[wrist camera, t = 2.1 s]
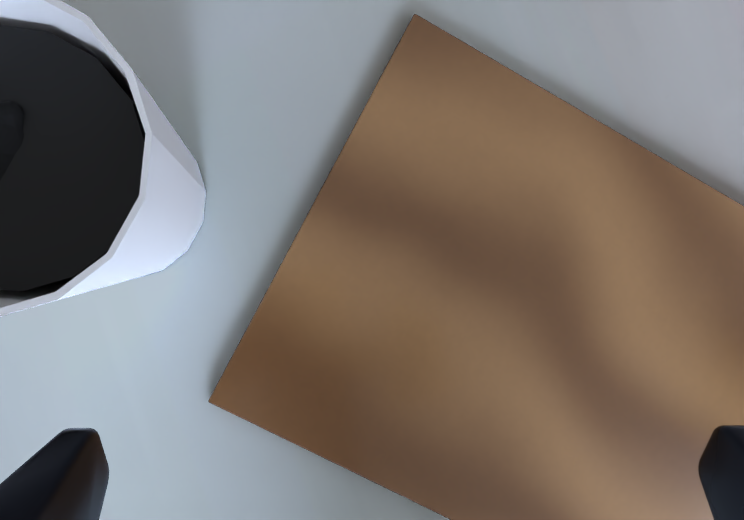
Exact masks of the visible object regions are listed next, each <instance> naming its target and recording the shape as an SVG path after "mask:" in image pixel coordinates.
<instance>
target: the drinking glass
mask: <svg viewBox="0 0 744 520" xmlns="http://www.w3.org/2000/svg"><path fill="white" fill-rule="evenodd" d="M205 200H206V189H205V186H204V183H203V179H202V176H201V173H200V169H199V166H198V163H197V161H196V160H195V158H194V157H193V155H192V154H191V153H190V151H189V150H188V148H187V147H186V145H185V144H184V143H183V141H182V140H181V138H180V137H179V135H178V134H177V133H176V131H175V130H174V128H173V127H172V125H171V124H170V123H169V121H168V120H167V118H166V117H165V115H164V114H163V113H162V111H161V110H160V108H159V107H158V105H157V104H156V102H155V101H154V100H153V98H152V97H151V95H150V94H149V92H148V91H147V90H146V88H145V87H144V85H143V84H142V82H141V81H140V80H139V78H138V77H137V75H136V74H135V72H134V71H133V70H132V68H131V67H130V66H129V65H128V63H127V62H126V61H125V60H124V59H123V57H122V56H121V55H120V54H119V53H118V51H117V50H116V49H115V48H114V46H113V45H112V44H111V43H110V42H109V40H108V39H107V38H106V37H105V35H104V34H103V33H102V32H101V31H100V29H99V28H98V27H97V26H96V25H95V23H94V22H93V21H92V20H91V18H90V17H89V16H88V15H86V14H84V13H82V12H80V11H79V10H77V9H75V8H73V7H72V6H70V5H68V4H66V3H64V2H63V1H61V0H0V317H1V316H4V315H8V314H11V313H15V312H18V311H22V310H25V309H29V308H32V307H36V306H39V305H43V304H46V303H50V302H53V301H57V300H60V299H64V298H67V297H71V296H74V295H78V294H81V293H85V292H88V291H92V290H95V289H99V288H103V287H106V286H110V285H113V284H117V283H120V282H124V281H127V280H131V279H135V278H138V277H142V276H145V275H149V274H152V273H155V272H159V271H162V270H164V269H165V268H166V267H168V266H169V265H170V264H171V263H173V262H174V261H175V260H176V259H178V258H179V257H180V256H182V255H183V254H184V253H185V252H187V251H188V249H189V247H190V246H191V244H192V242H193V240H194V238H195V237H196V235H197V233H198V231H199V229H200V228H201V226H202V224H203V219H204V210H205Z"/></svg>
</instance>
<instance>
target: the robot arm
mask: <svg viewBox="0 0 744 520" xmlns="http://www.w3.org/2000/svg"><path fill="white" fill-rule="evenodd" d="M698 473H699V478H700V481H701V484H702V487H703V490H704V493H705V495H706V498H707V501H708V504H709V507H710V510H711V513H712V516H713V518H714V520H744V425H721V426H718V427H717V428H715V429H714V431H713V432H712V435H711V437H710V439H709V441H708V443H707V445H706V447H705V449H704V451H703V453H702V455H701V458H700V460H699V464H698ZM108 479H109V467H108V463H107V460H106V456H105V453H104V450H103V447H102V443H101V440H100V437H99V434H98V432H97V431H96V430H94V429H91V428H70V429H65V430H63V431H62V432H60V433H59V434H58V435H57V436H55V437H54V438H53V439H52V440H51V441H50V442H48V443H47V444H46V445H45V446H44V447H43V448H41V449H40V450H39V451H38V452H37V453H36V454H35V455H33V456H32V457H31V458H30V459H29V460H28V461H26V462H25V463H24V464H23V465H22V466H21V467H19V468H18V469H17V470H16V471H15V472H14V473H13V474H11V475H10V476H9V477H8V478H7V479H6V480H4V481H3V482H2V483H1V484H0V520H99V517H100V513H101V509H102V505H103V501H104V497H105V493H106V489H107V485H108Z"/></svg>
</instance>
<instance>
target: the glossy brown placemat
mask: <svg viewBox="0 0 744 520" xmlns="http://www.w3.org/2000/svg"><path fill="white" fill-rule="evenodd" d="M208 402H210V403H212V404H214V405H216V406H218V407H220V408H222V409H224V410H226V411H228V412H230V413H232V414H234V415H236V416H238V417H240V418H243V419H245V420H247V421H249V422H251V423H253V424H255V425H257V426H259V427H261V428H263V429H265V430H267V431H269V432H271V433H273V434H275V435H278V436H280V437H282V438H284V439H286V440H288V441H290V442H292V443H294V444H296V445H298V446H300V447H302V448H304V449H306V450H308V451H311V452H313V453H315V454H317V455H319V456H321V457H323V458H325V459H327V460H329V461H331V462H333V463H335V464H337V465H339V466H341V467H343V468H346V469H348V470H350V471H352V472H354V473H356V474H358V475H360V476H362V477H364V478H366V479H368V480H370V481H372V482H374V483H376V484H379V485H381V486H383V487H385V488H387V489H389V490H391V491H393V492H395V493H397V494H399V495H401V496H403V497H405V498H407V499H409V500H411V501H414V502H416V503H418V504H420V505H422V506H424V507H426V508H428V509H430V510H432V511H434V512H436V513H438V514H440V515H442V516H444V517H447V518H449V519H451V520H714V518H713V516H712V513H711V510H710V507H709V504H708V501H707V498H706V495H705V493H704V490H703V487H702V484H701V481H700V478H699V473H698V464H699V460H700V458H701V455H702V453H703V451H704V449H705V447H706V445H707V443H708V441H709V439H710V437H711V435H712V432H713V431H714V429H715V428H717V427H718V426H721V425H744V206H743V205H741V204H739V203H737V202H736V201H734V200H732V199H731V198H729V197H727V196H726V195H724V194H722V193H720V192H719V191H717V190H715V189H714V188H712V187H710V186H708V185H707V184H705V183H703V182H702V181H700V180H698V179H697V178H695V177H693V176H691V175H690V174H688V173H686V172H685V171H683V170H681V169H679V168H678V167H676V166H674V165H673V164H671V163H669V162H667V161H666V160H664V159H662V158H661V157H659V156H657V155H656V154H654V153H652V152H650V151H649V150H647V149H645V148H644V147H642V146H640V145H638V144H637V143H635V142H633V141H632V140H630V139H628V138H626V137H625V136H623V135H621V134H620V133H618V132H616V131H615V130H613V129H611V128H609V127H608V126H606V125H604V124H603V123H601V122H599V121H597V120H596V119H594V118H592V117H591V116H589V115H587V114H585V113H584V112H582V111H580V110H579V109H577V108H575V107H574V106H572V105H570V104H568V103H567V102H565V101H563V100H562V99H560V98H558V97H556V96H555V95H553V94H551V93H550V92H548V91H546V90H544V89H543V88H541V87H539V86H538V85H536V84H534V83H533V82H531V81H529V80H527V79H526V78H524V77H522V76H521V75H519V74H517V73H515V72H514V71H512V70H510V69H509V68H507V67H505V66H504V65H502V64H500V63H498V62H497V61H495V60H493V59H492V58H490V57H488V56H486V55H485V54H483V53H481V52H480V51H478V50H476V49H474V48H473V47H471V46H469V45H468V44H466V43H464V42H463V41H461V40H459V39H457V38H456V37H454V36H452V35H451V34H449V33H447V32H445V31H444V30H442V29H440V28H439V27H437V26H435V25H433V24H432V23H430V22H428V21H427V20H425V19H423V18H422V17H420V16H418V15H416V14H414V15H413V17H412V19H411V21H410V23H409V24H408V26H407V28H406V30H405V32H404V34H403V36H402V38H401V40H400V41H399V43H398V45H397V47H396V49H395V51H394V53H393V55H392V56H391V58H390V60H389V62H388V64H387V66H386V68H385V70H384V72H383V73H382V75H381V77H380V79H379V81H378V83H377V85H376V87H375V88H374V90H373V92H372V94H371V96H370V98H369V100H368V102H367V103H366V105H365V107H364V109H363V111H362V113H361V115H360V117H359V119H358V120H357V122H356V124H355V126H354V128H353V130H352V132H351V134H350V135H349V137H348V139H347V141H346V143H345V145H344V147H343V149H342V150H341V152H340V154H339V156H338V158H337V160H336V162H335V164H334V166H333V167H332V169H331V171H330V173H329V175H328V177H327V179H326V181H325V182H324V184H323V186H322V188H321V190H320V192H319V194H318V196H317V198H316V199H315V201H314V203H313V205H312V207H311V209H310V211H309V213H308V214H307V216H306V218H305V220H304V222H303V224H302V226H301V228H300V229H299V231H298V233H297V235H296V237H295V239H294V241H293V243H292V245H291V246H290V248H289V250H288V252H287V254H286V256H285V258H284V260H283V261H282V263H281V265H280V267H279V269H278V271H277V273H276V275H275V276H274V278H273V280H272V282H271V284H270V286H269V288H268V290H267V292H266V293H265V295H264V297H263V299H262V301H261V303H260V305H259V307H258V308H257V310H256V312H255V314H254V316H253V318H252V320H251V322H250V323H249V325H248V327H247V329H246V331H245V333H244V335H243V337H242V339H241V340H240V342H239V344H238V346H237V348H236V350H235V352H234V354H233V355H232V357H231V359H230V361H229V363H228V365H227V367H226V369H225V371H224V372H223V374H222V376H221V378H220V380H219V382H218V384H217V386H216V387H215V389H214V391H213V393H212V395H211V397H210V399H209V401H208Z"/></svg>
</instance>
